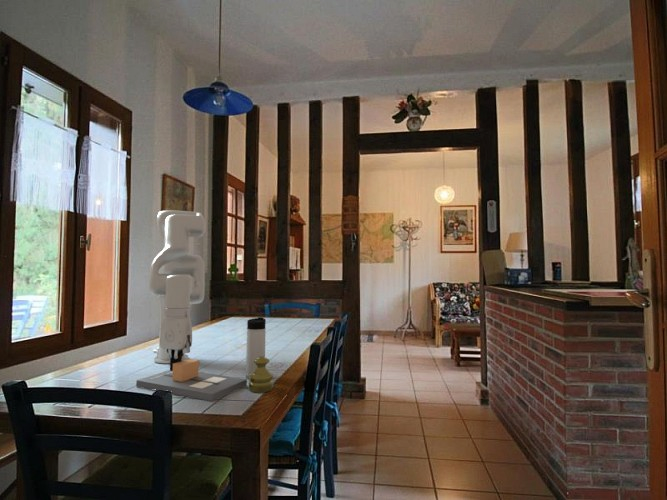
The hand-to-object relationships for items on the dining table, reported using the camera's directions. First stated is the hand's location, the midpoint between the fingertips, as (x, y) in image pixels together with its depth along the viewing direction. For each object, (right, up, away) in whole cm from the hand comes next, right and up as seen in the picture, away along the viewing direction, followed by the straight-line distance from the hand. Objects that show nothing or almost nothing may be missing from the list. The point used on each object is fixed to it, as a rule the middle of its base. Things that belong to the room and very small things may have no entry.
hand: (175, 370), depth 125 cm
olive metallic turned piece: (+28, -5, -5) cm, 29 cm away
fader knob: (+4, -2, -2) cm, 5 cm away
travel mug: (+24, -5, +8) cm, 26 cm away
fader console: (+6, -4, -3) cm, 8 cm away
